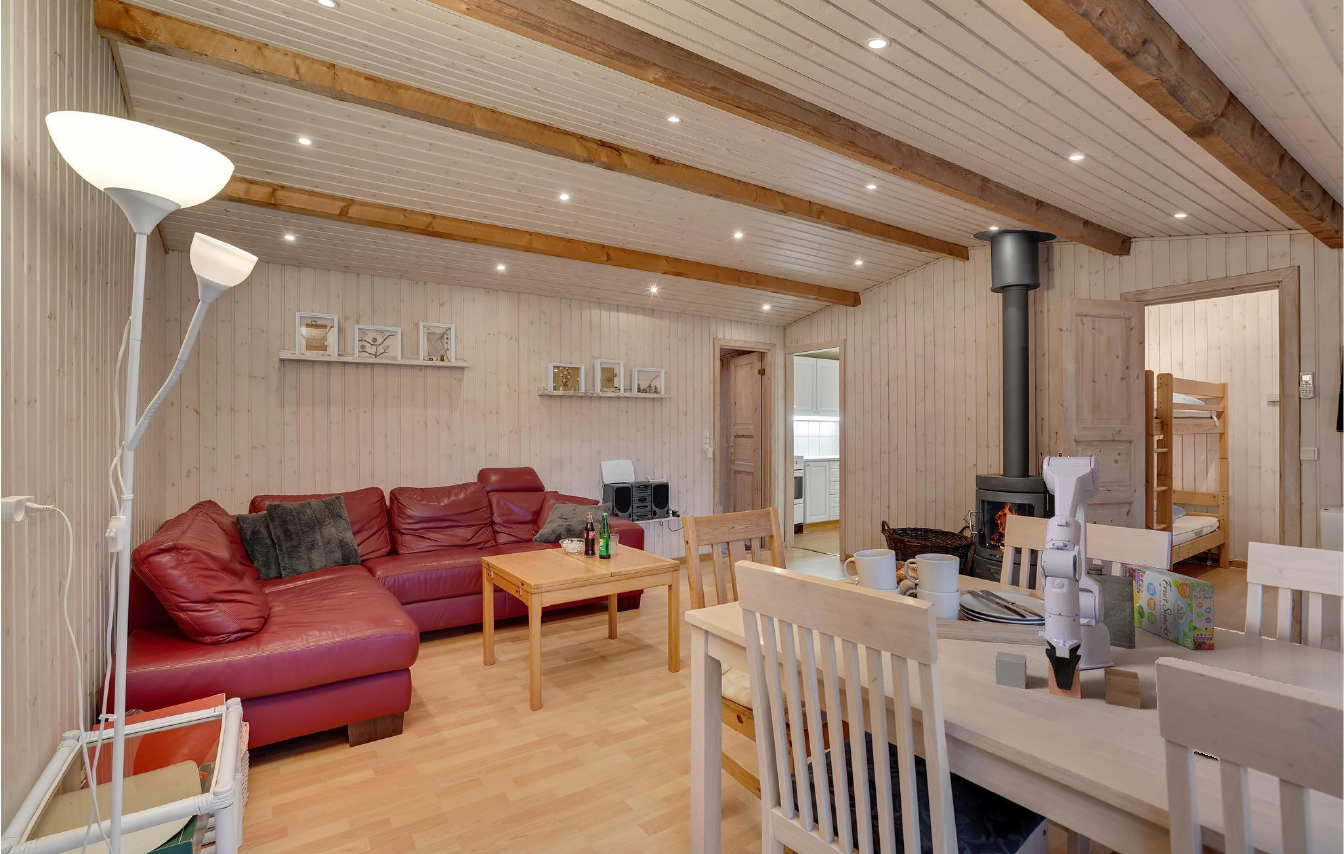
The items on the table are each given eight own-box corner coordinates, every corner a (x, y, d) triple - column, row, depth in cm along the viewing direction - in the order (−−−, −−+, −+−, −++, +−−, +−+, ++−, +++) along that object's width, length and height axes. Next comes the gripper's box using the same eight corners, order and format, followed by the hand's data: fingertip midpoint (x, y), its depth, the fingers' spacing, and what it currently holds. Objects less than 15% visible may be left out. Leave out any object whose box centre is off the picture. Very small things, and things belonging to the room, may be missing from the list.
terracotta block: (1049, 683, 122) (1048, 658, 122) (1080, 689, 119) (1079, 662, 119) (1048, 693, 117) (1048, 666, 118) (1080, 698, 115) (1079, 671, 115)
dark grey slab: (1131, 650, 139) (1128, 570, 139) (1061, 634, 150) (1059, 560, 151) (1137, 647, 141) (1134, 567, 141) (1067, 631, 152) (1065, 558, 153)
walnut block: (1105, 693, 117) (1104, 667, 117) (1138, 699, 114) (1137, 672, 114) (1106, 703, 113) (1105, 676, 113) (1140, 709, 110) (1139, 681, 110)
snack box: (1217, 650, 138) (1215, 582, 138) (1192, 650, 138) (1190, 583, 138) (1146, 621, 159) (1144, 563, 159) (1124, 622, 159) (1122, 563, 160)
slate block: (998, 675, 126) (998, 651, 127) (1026, 680, 124) (1026, 655, 124) (996, 684, 122) (995, 658, 122) (1025, 689, 120) (1024, 663, 120)
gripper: (1039, 600, 127) (1041, 667, 126) (1036, 618, 115) (1038, 692, 114) (1080, 605, 123) (1083, 673, 123) (1081, 624, 111) (1084, 700, 110)
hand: (1064, 683), depth 118 cm, fingers closed on terracotta block, 5 cm apart
